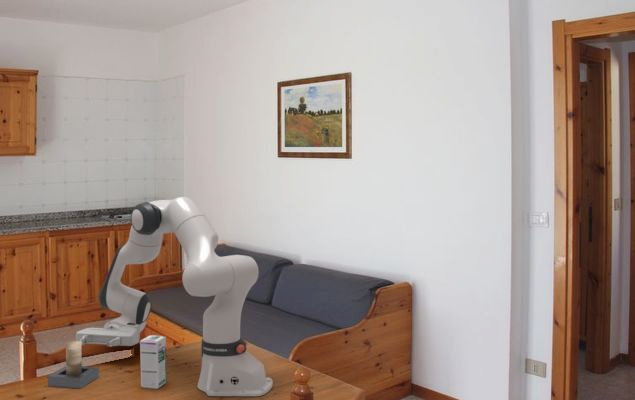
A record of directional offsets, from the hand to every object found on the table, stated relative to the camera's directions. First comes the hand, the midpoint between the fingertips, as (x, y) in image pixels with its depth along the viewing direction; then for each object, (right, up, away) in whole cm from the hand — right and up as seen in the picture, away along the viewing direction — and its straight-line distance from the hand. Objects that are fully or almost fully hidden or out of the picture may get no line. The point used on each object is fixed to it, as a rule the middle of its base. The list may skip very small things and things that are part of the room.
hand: (95, 343), depth 203 cm
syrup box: (+22, -10, -14) cm, 28 cm away
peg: (-2, -9, -11) cm, 15 cm away
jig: (-2, -9, -11) cm, 15 cm away
